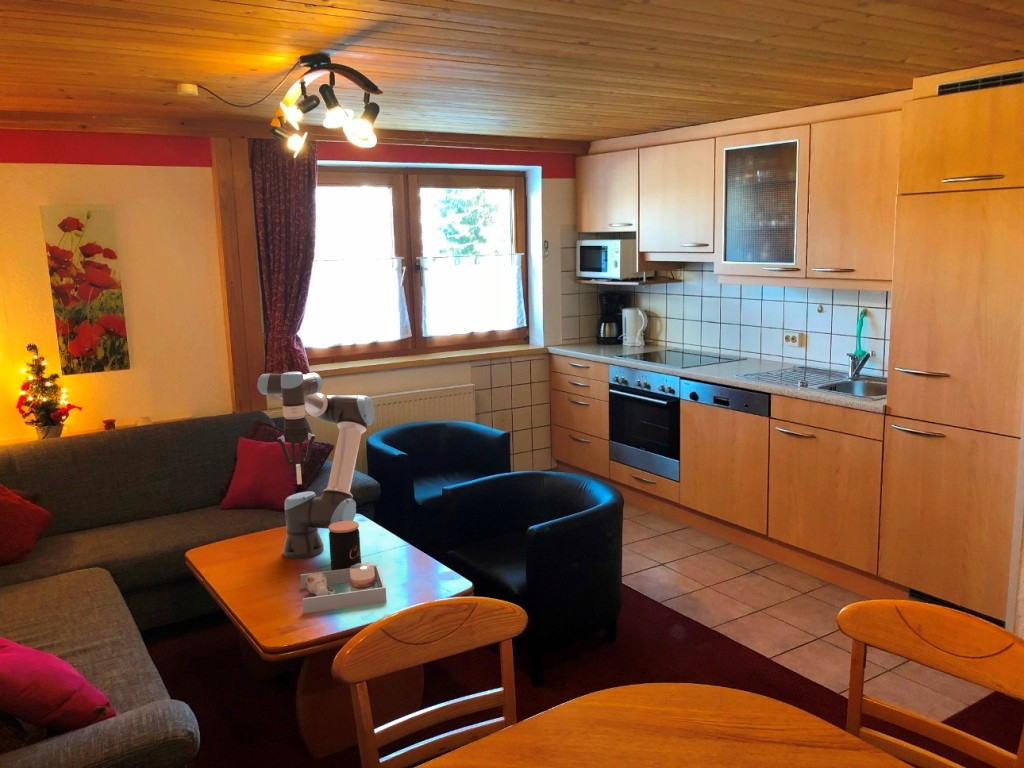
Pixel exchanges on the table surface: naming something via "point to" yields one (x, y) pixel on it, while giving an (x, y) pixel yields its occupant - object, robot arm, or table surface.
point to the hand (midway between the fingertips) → (299, 483)
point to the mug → (318, 584)
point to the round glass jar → (362, 576)
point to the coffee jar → (344, 544)
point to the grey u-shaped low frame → (343, 598)
